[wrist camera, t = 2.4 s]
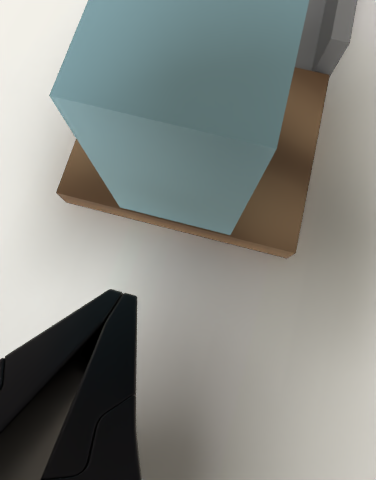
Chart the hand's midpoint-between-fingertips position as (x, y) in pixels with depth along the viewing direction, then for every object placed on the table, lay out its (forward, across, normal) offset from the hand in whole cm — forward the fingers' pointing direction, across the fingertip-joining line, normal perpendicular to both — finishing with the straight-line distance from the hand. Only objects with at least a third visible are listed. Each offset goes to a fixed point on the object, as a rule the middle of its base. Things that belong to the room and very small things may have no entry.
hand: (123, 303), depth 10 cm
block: (+10, 0, -1) cm, 10 cm away
